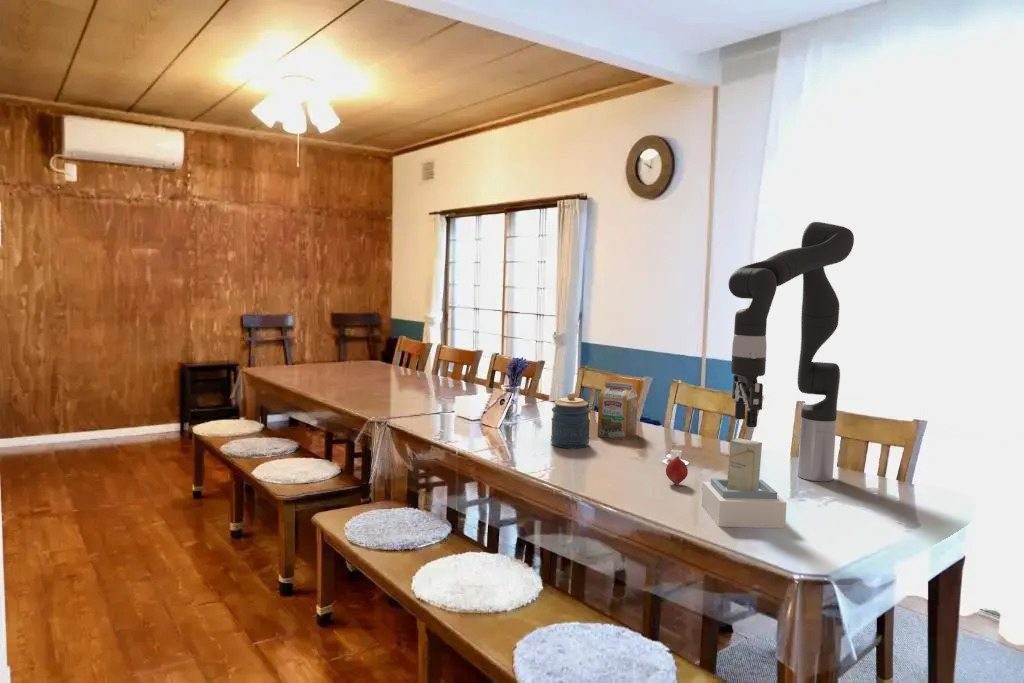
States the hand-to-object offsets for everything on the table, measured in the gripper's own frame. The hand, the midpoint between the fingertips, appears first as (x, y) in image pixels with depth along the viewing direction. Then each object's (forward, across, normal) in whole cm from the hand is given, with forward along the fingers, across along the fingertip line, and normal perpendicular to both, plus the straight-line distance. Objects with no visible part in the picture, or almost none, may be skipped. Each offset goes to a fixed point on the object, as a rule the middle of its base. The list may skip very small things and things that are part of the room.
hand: (745, 422), depth 163 cm
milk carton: (+23, -85, -18) cm, 90 cm away
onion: (+23, -25, -10) cm, 35 cm away
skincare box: (+17, 0, 0) cm, 17 cm away
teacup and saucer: (+24, -50, -2) cm, 55 cm away
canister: (+23, -69, -36) cm, 81 cm away
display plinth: (+22, 0, 0) cm, 23 cm away
